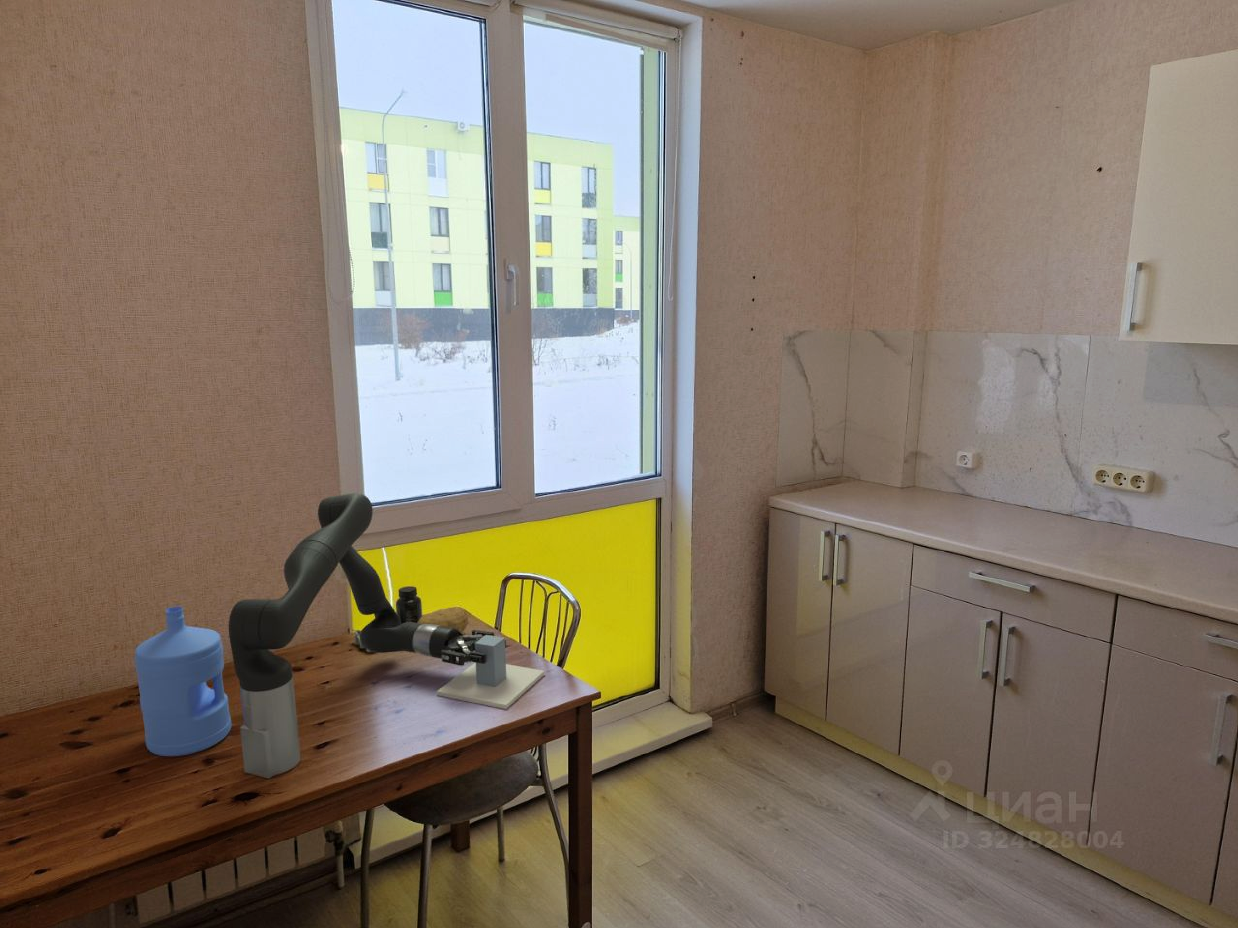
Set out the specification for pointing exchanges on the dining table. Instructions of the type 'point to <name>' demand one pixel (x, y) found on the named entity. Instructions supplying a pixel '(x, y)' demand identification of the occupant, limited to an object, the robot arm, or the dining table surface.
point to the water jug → (182, 688)
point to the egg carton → (357, 639)
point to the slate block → (491, 661)
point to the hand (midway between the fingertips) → (495, 651)
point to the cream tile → (487, 695)
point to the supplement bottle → (409, 605)
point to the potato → (447, 618)
